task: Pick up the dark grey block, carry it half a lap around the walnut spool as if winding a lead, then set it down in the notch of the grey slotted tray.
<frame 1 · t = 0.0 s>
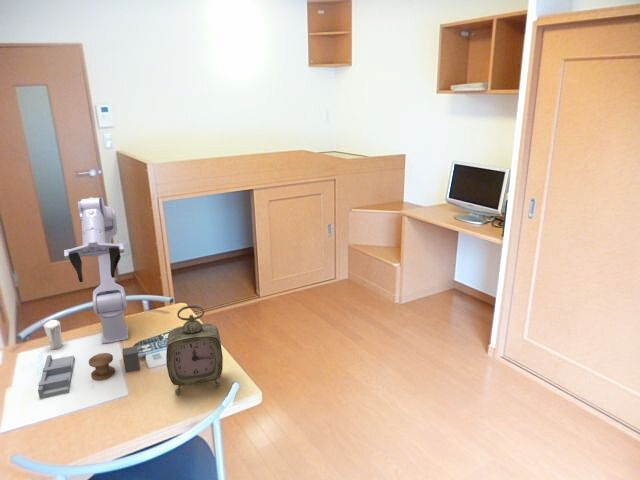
hand: (96, 278, 121), 32 cm above the table, tool tilted 50°, fingers open, 7 cm apart
spool: (103, 373, 135), on the table
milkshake: (55, 347, 149), on the table
dark grey block: (132, 368, 138), on the table
tabletop clock: (198, 385, 130), on the table
grey slotted tray: (58, 377, 133), on the table
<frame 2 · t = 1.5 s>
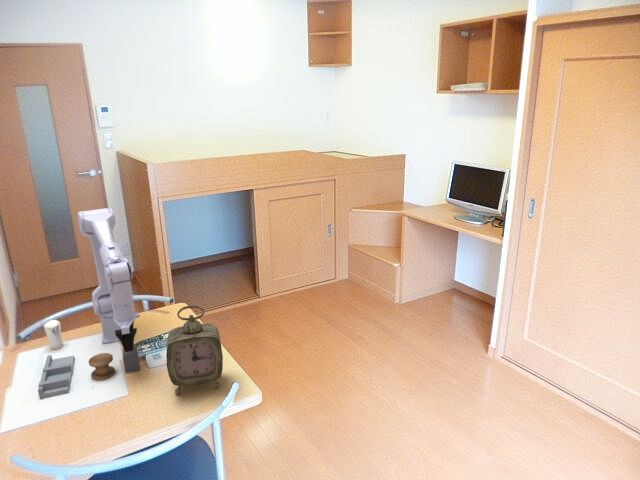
hand: (129, 344, 135), 8 cm above the table, tool pointing down, fingers open, 7 cm apart
nothing on the table moved.
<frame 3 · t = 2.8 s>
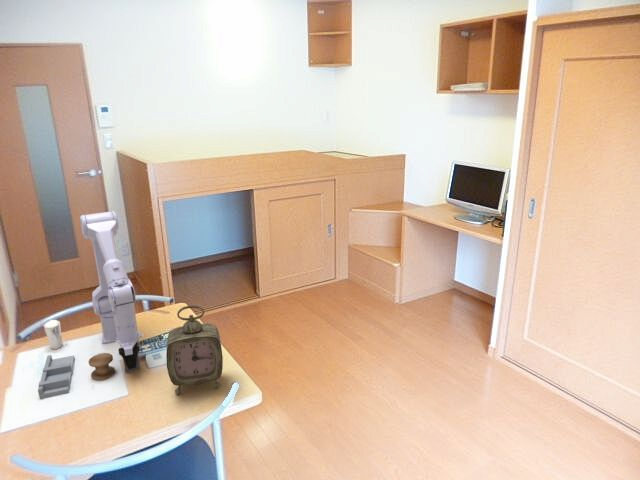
hand: (131, 363, 137), 1 cm above the table, tool pointing down, fingers closed on dark grey block, 4 cm apart
dark grey block: (132, 367, 138), on the table, touching gripper
everything else where it was.
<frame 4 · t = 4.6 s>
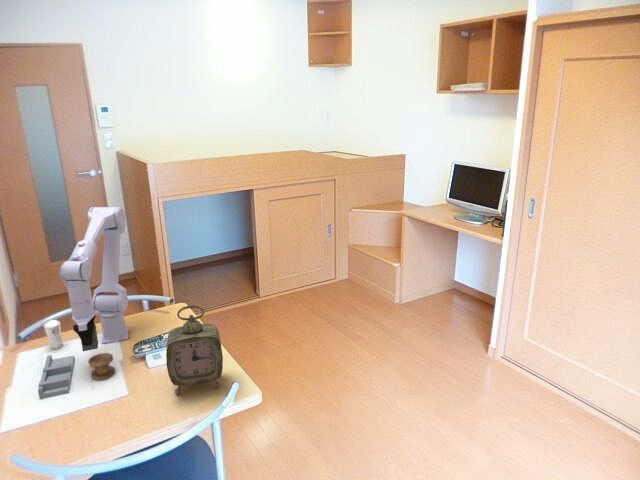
hand: (88, 341, 137), 8 cm above the table, tool pointing down, fingers closed on dark grey block, 4 cm apart
dark grey block: (90, 346, 138), point 6 cm above the table, touching gripper
everything else where it was.
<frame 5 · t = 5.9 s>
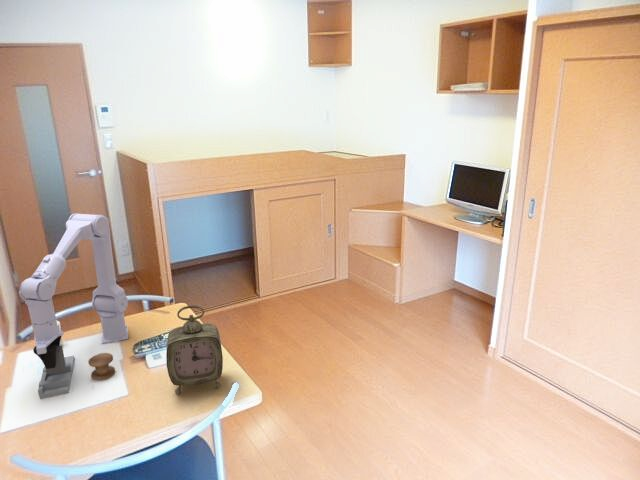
hand: (52, 363, 129), 7 cm above the table, tool pointing down, fingers closed on dark grey block, 4 cm apart
dark grey block: (56, 368, 129), point 5 cm above the table, touching gripper
everything else where it was.
when the fingers open (4 cm above the table, at t = 6.6 s): dark grey block drops 1 cm, resting on grey slotted tray.
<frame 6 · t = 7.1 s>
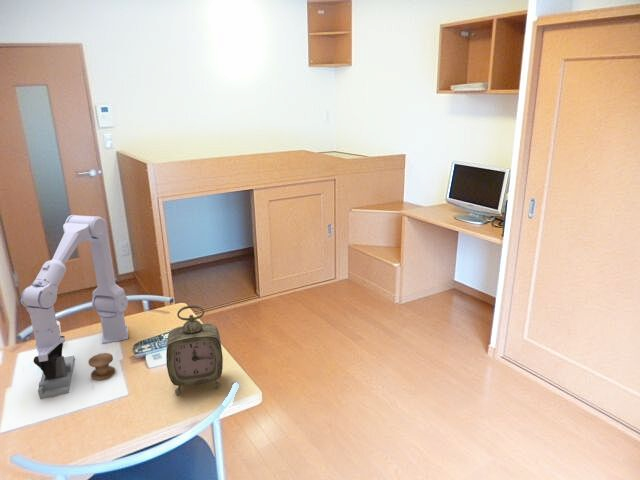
hand: (54, 369, 129), 4 cm above the table, tool pointing down, fingers open, 7 cm apart
dark grey block: (58, 379, 130), point 1 cm above the table, touching grey slotted tray
everything else where it was.
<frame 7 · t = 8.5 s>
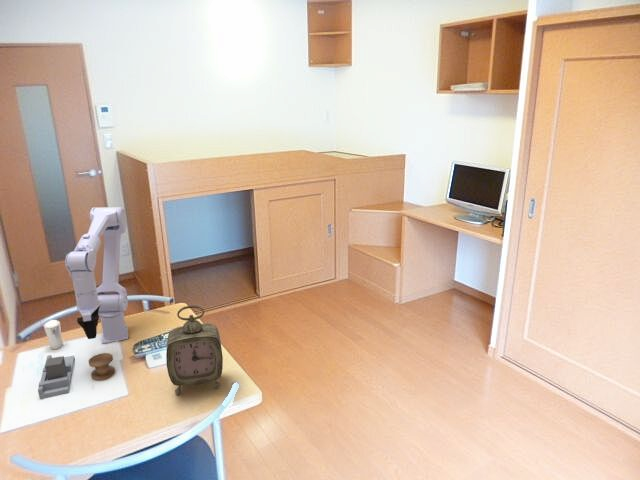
hand: (93, 332, 138), 10 cm above the table, tool pointing down, fingers open, 7 cm apart
nothing on the table moved.
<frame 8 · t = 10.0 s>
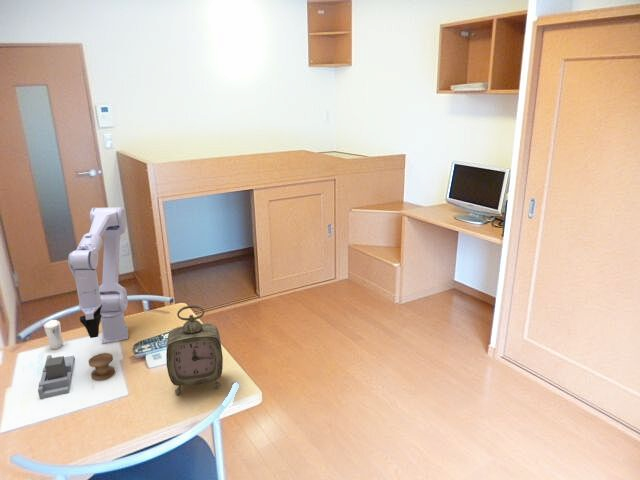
hand: (95, 331, 138), 10 cm above the table, tool pointing down, fingers open, 7 cm apart
nothing on the table moved.
at the end: dark grey block 0.5 cm from the target spot on the grey slotted tray, point 1.2 cm above the grey slotted tray's base; dark grey block tilted 0°; the gripper is holding nothing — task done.
